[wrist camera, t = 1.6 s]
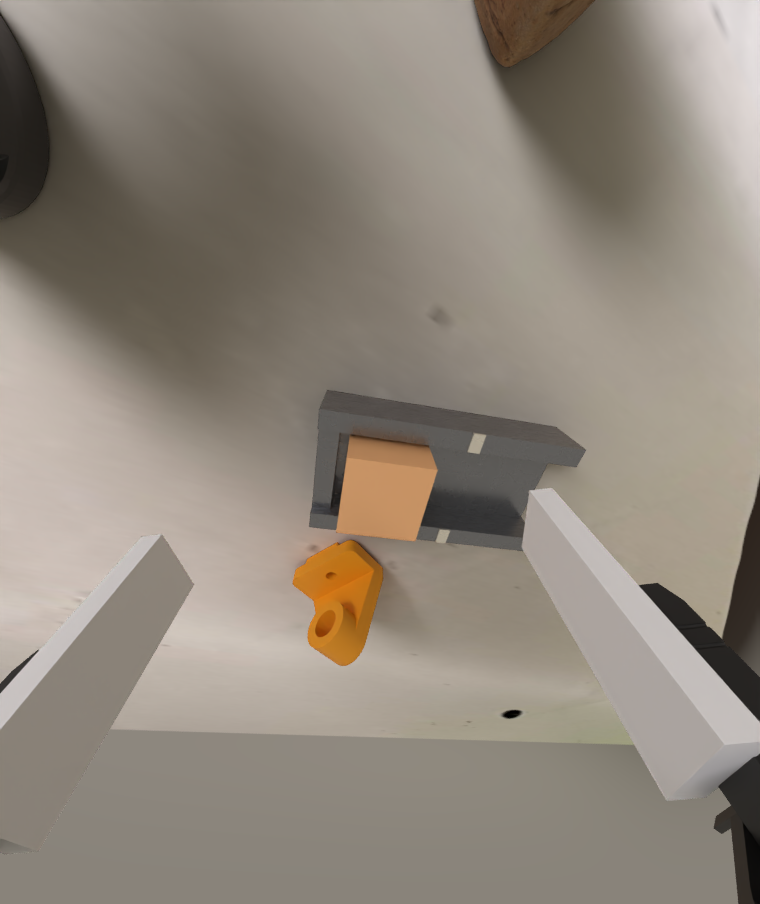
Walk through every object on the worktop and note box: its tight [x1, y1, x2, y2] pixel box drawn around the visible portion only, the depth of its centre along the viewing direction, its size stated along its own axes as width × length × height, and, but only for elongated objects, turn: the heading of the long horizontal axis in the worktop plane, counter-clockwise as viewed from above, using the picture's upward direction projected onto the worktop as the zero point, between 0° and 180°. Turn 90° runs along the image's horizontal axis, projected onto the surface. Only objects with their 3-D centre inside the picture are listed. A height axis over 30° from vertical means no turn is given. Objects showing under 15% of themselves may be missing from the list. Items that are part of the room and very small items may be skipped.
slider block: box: [336, 434, 438, 541], centre depth 31 cm, size 8×9×7 cm
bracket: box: [293, 540, 383, 666], centre depth 40 cm, size 11×7×12 cm, turn 125°
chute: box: [309, 390, 586, 551], centre depth 34 cm, size 26×14×6 cm, turn 80°
